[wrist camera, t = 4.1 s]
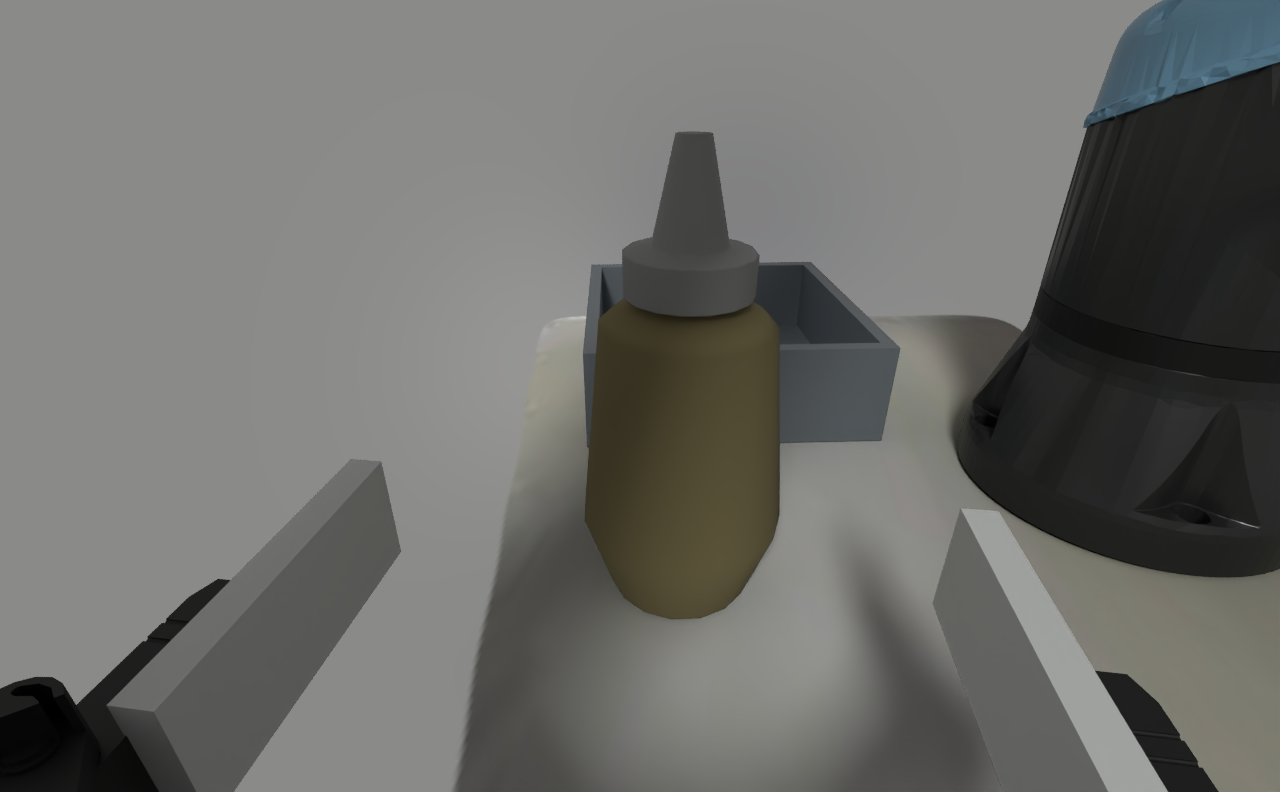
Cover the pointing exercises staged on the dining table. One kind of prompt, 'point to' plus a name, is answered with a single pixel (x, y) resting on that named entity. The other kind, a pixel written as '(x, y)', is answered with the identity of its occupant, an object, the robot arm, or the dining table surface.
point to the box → (796, 353)
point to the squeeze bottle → (685, 406)
